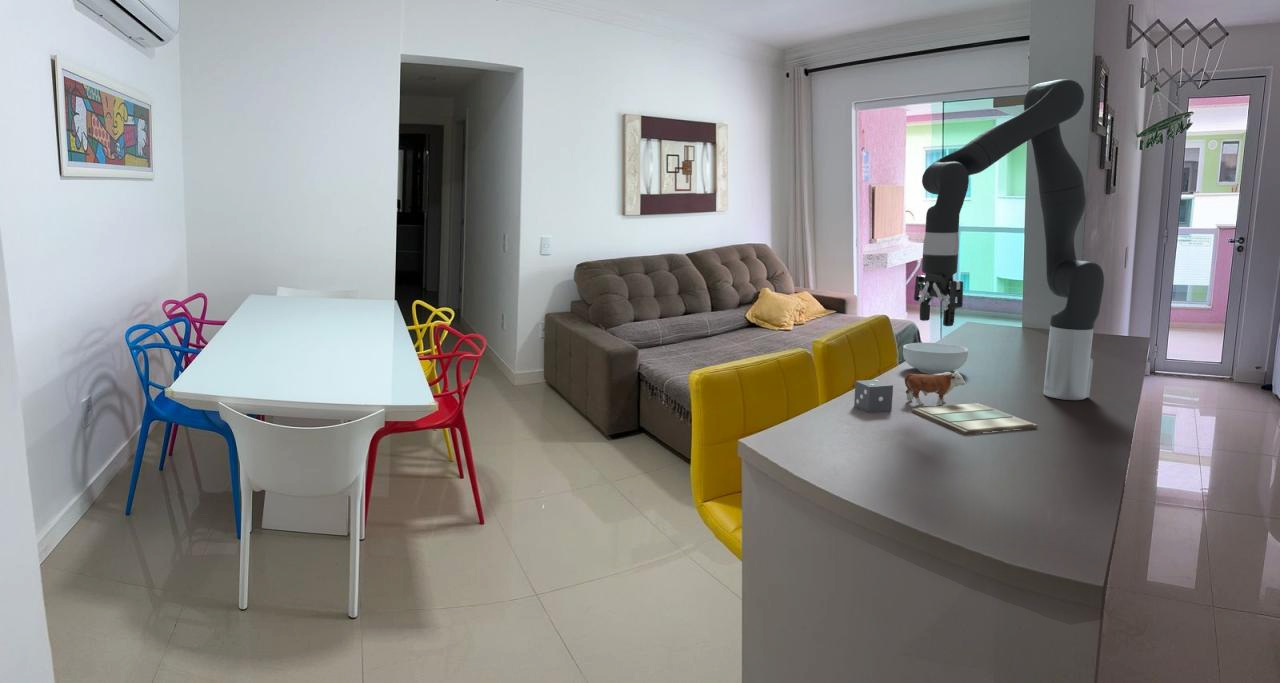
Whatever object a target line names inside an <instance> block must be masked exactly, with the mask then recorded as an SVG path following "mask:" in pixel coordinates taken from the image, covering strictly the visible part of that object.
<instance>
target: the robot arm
mask: <svg viewBox="0 0 1280 683" xmlns="http://www.w3.org/2000/svg"><path fill="white" fill-rule="evenodd" d="M1084 101H1085V92H1084V89H1083V87H1082V85H1081V84H1080V83H1079V82H1078V81H1075V80H1073V79H1068V78H1065V79H1055V80H1051V81H1045V82H1039V83H1037V84H1035V85H1033V86H1031V87H1030V88H1029V89H1028V90H1027V91H1026V94H1025V97H1024V102H1023V111H1022V112H1021V113H1019V114H1018V115H1016V116H1013V117H1011V118H1009V119H1007V120H1005V121H1003V122H1001V123H999V124H997V125H995V126H992V127H991V128H989V129H987V130H985V131H984V132H982V133H980V134H979V135H978V136H976V137H974V138H973V139H971V141H970V140H969V142H968V143H966V144H965V145H964V146H962V147H960V148H959V149H957V150H955V151H953V152H951V153H949V154H947V155H945V156H943V157H941V158H939V159H937V160H936V161H934V162H932V163H931V164H930V165H929V166H928V167H926V169H925V171H924V172H923V174H922V176H921V178H922V179H921V184H922V187H923V188H924V190H925V191H926V192H927V193H930V194H932V195H937V197H936V201H935V204H934V205H933V206H930V207H929V208H928V209H927V211H926V214H925V215H926V216H925V231H924V237H923V238H924V239H923V244H922V245H923V246H922V247H923V248H922V261H921V271H922V273H923V274H925V275H916V276H915V283H914V294H913V300H914V301H916V302H917V303H918V304H919V320H920V321H922V322H925V321H929V320H930V317H931V304H930V303H931V302H932V300H933V299H934V298H937V299H938V300H939V301H940V302H941V303H942V305H943V308H944V309H943V320H942V321H943V322H942V325H943V327H952V326H953V325H954V323H955V315H956V314H955V313H956V312H955V311H956V310H957V309H959V308H963V304H964V303H963V300H964V298H963V297H964V295H963V294H964V281H963V280H954V277H953V275H955V274H957V273H958V262H959V261H958V260H959V246H960V245H959V244H960V241H959V240H960V237H959V232H960V231H959V229H960V215H961V210H962V208H963V206H964V202H965V199H966V195H967V192H968V189H969V182H970V178H969V176H972V175H975V174H976V175H977V174H980V173H982V172H983V171H985V170H987V169H988V168H990V167H991V166H992V165H993V164H995V163H997V162H998V161H999V160H1001V159H1002V158H1003V157H1005V156H1006V155H1008V154H1010V152H1012V151H1013V150H1016V148H1018V147H1020V146H1021V145H1023V144H1025V143H1026V142H1028V141H1031V145H1032V146H1031V147H1032V150H1033V154H1034V155H1033V156H1034V161H1035V162H1034V163H1035V169H1036V174H1037V181H1038V182H1037V183H1038V193H1039V200H1040V206H1041V211H1042V212H1041V213H1042V217H1043V218H1042V220H1043V228H1044V229H1043V230H1044V238H1045V239H1044V240H1045V252H1046V253H1045V255H1046V256H1045V258H1046V261H1045V263H1046V264H1045V265H1046V267H1045V268H1046V281H1047V284H1048V288H1049V290H1050V292H1052V294H1053V295H1055V296H1057V297H1061V298H1064V299H1065V298H1066V299H1067V300H1066V305H1065V306H1064V307H1065V308H1063V309H1062V310H1061V311H1058V312H1054V313H1053V314H1052V315H1051V317H1050V325H1049V335H1048V344H1047V353H1046V354H1047V355H1046V364H1045V372H1044V374H1045V375H1044V381H1043V382H1044V383H1043V392H1042V393H1043V395H1044V396H1046V397H1049V398H1053V399H1059V400H1065V401H1083V400H1085V399H1087V398H1090V391H1091V384H1092V376H1093V375H1092V374H1093V367H1094V359H1093V358H1091V356H1092V354H1091V353H1092V345H1093V338H1094V327H1095V322H1096V320H1097V318H1098V317H1099V314H1100V309H1101V303H1102V297H1103V292H1104V286H1105V275H1104V274H1105V273H1104V271H1103V269H1102V267H1101V266H1100V265H1099V264H1098V263H1096V262H1093V261H1088V260H1079V259H1078V260H1077V256H1076V251H1075V236H1076V234H1075V233H1076V231H1077V228H1078V227H1079V224H1080V222H1081V220H1082V216H1083V214H1084V211H1085V209H1086V203H1087V202H1086V201H1087V200H1086V191H1085V184H1084V183H1085V182H1084V177H1083V175H1082V174H1083V173H1082V171H1081V169H1080V167H1079V166H1078V164H1077V162H1076V161H1075V159H1074V158H1073V157H1072V155H1071V154H1070V152H1069V151H1068V149H1067V147H1066V146H1065V144H1064V142H1063V138H1062V133H1061V128H1060V127H1061V126H1060V124H1062V123H1064V122H1066V121H1068V120H1070V119H1072V118H1074V117H1075V116H1077V114H1078V113H1079V112H1080V110H1081V109H1082V107H1083V106H1084ZM920 291H921V293H920ZM956 297H957V301H956Z"/></svg>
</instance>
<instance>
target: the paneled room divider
mask: <svg viewBox="0 0 1280 683" xmlns="http://www.w3.org/2000/svg"><path fill="white" fill-rule="evenodd" d="M911 412H912V413H913V414H916V415H918V416H920V417H922V418H924V419H927V420H929V421H931V422H933V423H936V424H938V425H941V426H943V427H944V428H946V429H949V430H952V431H954V432H957V433H959V434H961V435H963V434H964V435H963V436H970V435H969V434H973V435H977V434H976V433H983V432H992V431H1003V430H1013V429H1028V430H1032V429H1031V428H1039V424H1037V423H1034V422H1031V421H1028V420H1025V419H1023V418H1020V417H1017V416H1015V415H1012V414H1010V413H1006V412H1004V411H1001V410H999V409H996V408H994V407H992V406H991V407H990V406H988V405H985V404H982V403H978V402H975V403H963V404H951V405H950V404H947V405H942V406H939V405H936V406H934V405H933V406H924V407H923V406H922V407H916V408H912V409H911Z"/></svg>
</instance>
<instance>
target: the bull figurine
mask: <svg viewBox="0 0 1280 683" xmlns="http://www.w3.org/2000/svg"><path fill="white" fill-rule="evenodd" d="M904 384H905V387H906V388H907V389H906V390H905V394H906V401H908V403H913V399H915V401H916V404H917V405H919V406H924V403H923V401H921V398H920V396H919V395H920V392H922V394H923V395H924V396H927V395H928V394H930V393H931V394H933V393H935V394H937V395H938V398H937V399H938V400H937V403H936V404H937V405H938V406H943V404H947V402H946V401H945V398H944V396H945V395H947V394H949V393H950V392H951V391H953V390H954V388H955V387H956V388H957V387H959V386H964V385H966V381H965V380H964V378H963V376H962V374H960V373H959V372H958V371H954V372H951V371H950V372H945V373H941V374H926V373H909V374H907V375H906V376H905V378H904Z"/></svg>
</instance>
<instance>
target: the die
mask: <svg viewBox="0 0 1280 683" xmlns="http://www.w3.org/2000/svg"><path fill="white" fill-rule="evenodd" d="M893 393H894V385H893V384H891V383H888V382H887V381H886V382H885V381H883V380H880V379H867V380H855V383H854V402H853V406H854V407H856V408H857V409H859V410H861V411H864V412H865V413H869V414H871V413H882V412H883V413H884V412H892V407H893Z"/></svg>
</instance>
